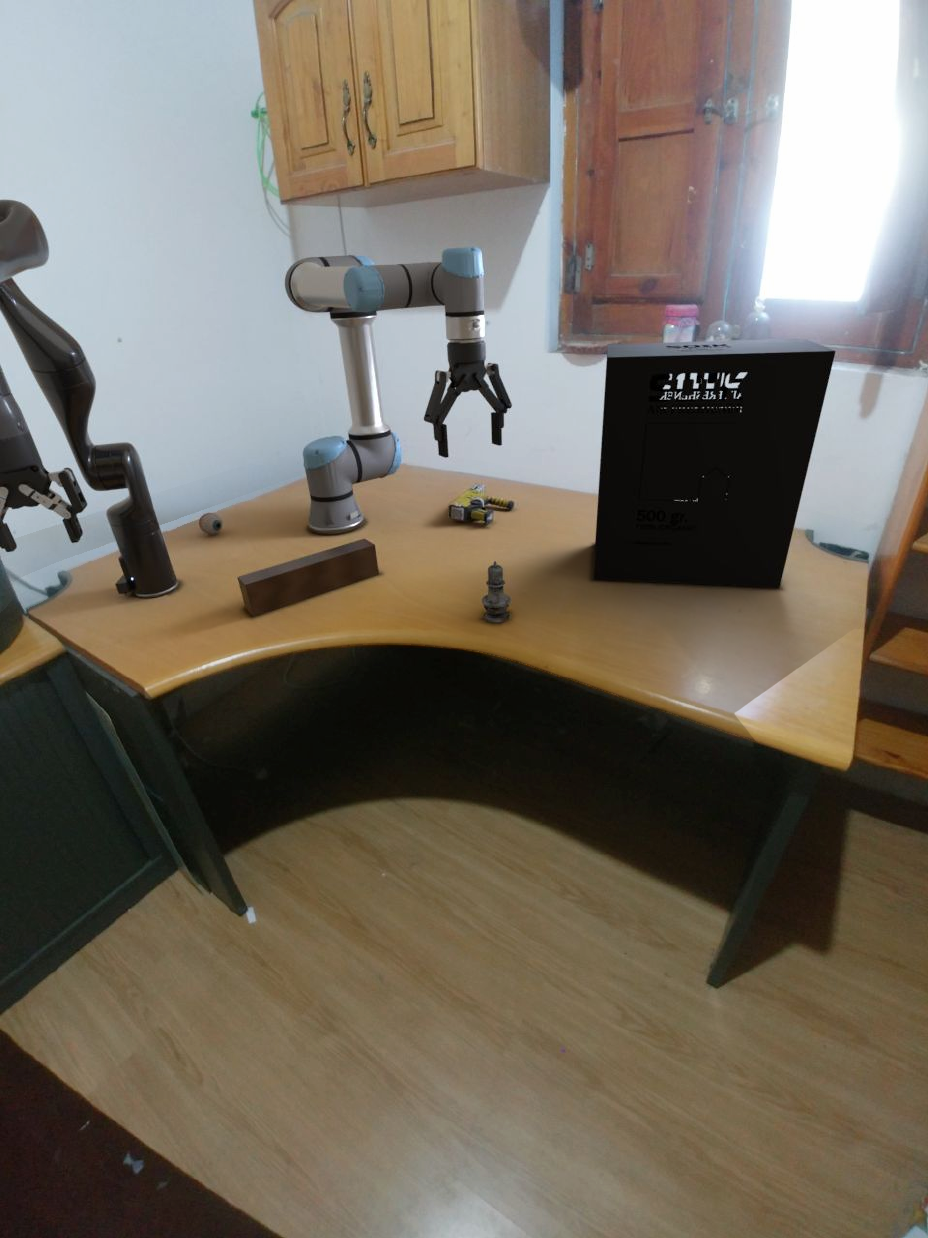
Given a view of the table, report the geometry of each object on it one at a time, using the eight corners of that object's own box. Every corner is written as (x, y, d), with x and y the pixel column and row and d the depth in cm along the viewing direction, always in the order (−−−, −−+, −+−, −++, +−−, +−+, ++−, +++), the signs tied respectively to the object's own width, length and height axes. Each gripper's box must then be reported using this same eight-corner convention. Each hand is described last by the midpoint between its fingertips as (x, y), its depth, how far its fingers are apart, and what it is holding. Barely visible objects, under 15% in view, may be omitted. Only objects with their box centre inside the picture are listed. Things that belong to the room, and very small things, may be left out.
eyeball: (212, 539, 164) (206, 518, 161) (197, 535, 167) (191, 515, 164) (230, 531, 169) (224, 511, 166) (215, 528, 172) (210, 508, 169)
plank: (253, 617, 125) (245, 584, 122) (245, 608, 129) (237, 576, 125) (379, 574, 140) (375, 544, 137) (368, 567, 144) (364, 538, 140)
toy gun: (522, 488, 179) (474, 481, 183) (499, 513, 159) (446, 504, 163) (520, 503, 181) (473, 496, 185) (498, 529, 161) (446, 520, 165)
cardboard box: (759, 548, 141) (803, 338, 119) (779, 587, 124) (835, 350, 102) (595, 543, 149) (607, 344, 126) (593, 579, 132) (607, 357, 109)
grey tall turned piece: (509, 624, 117) (508, 568, 111) (479, 622, 118) (477, 567, 112) (513, 609, 122) (512, 555, 116) (484, 607, 123) (482, 554, 117)
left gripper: (62, 421, 84) (103, 529, 93) (-53, 432, 82) (-1, 543, 90) (45, 432, 78) (91, 547, 86) (-81, 445, 75) (-21, 563, 83)
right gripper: (419, 348, 109) (429, 465, 119) (528, 334, 120) (528, 442, 131) (400, 345, 114) (410, 457, 125) (505, 333, 125) (507, 436, 136)
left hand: (44, 545), depth 88 cm, fingers open, 8 cm apart
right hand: (470, 450), depth 128 cm, fingers open, 13 cm apart
